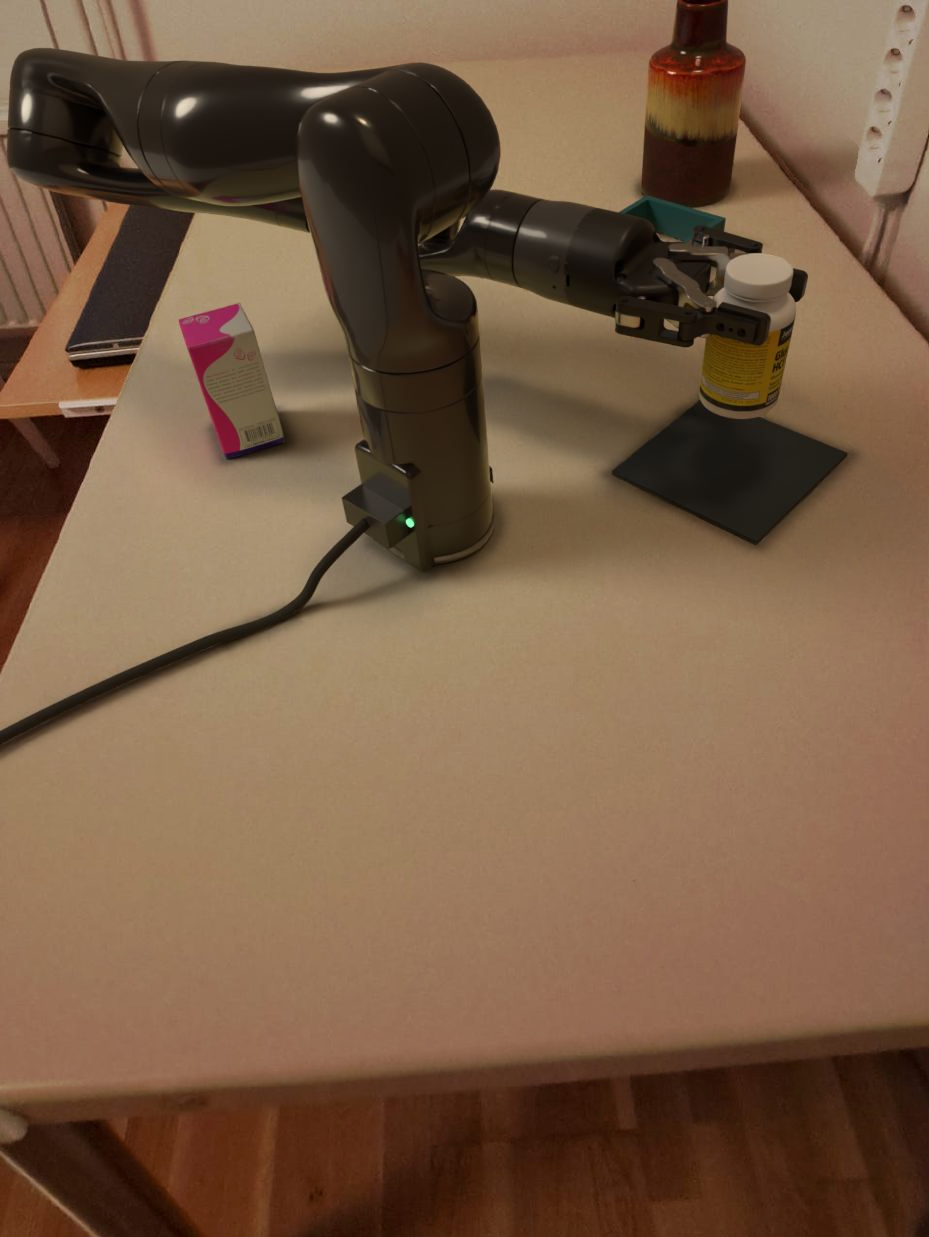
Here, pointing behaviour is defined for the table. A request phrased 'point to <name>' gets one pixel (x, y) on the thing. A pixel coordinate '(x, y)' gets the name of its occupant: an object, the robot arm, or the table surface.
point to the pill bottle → (742, 371)
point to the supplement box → (232, 379)
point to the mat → (730, 469)
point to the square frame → (673, 217)
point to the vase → (693, 108)
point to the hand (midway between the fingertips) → (785, 308)
